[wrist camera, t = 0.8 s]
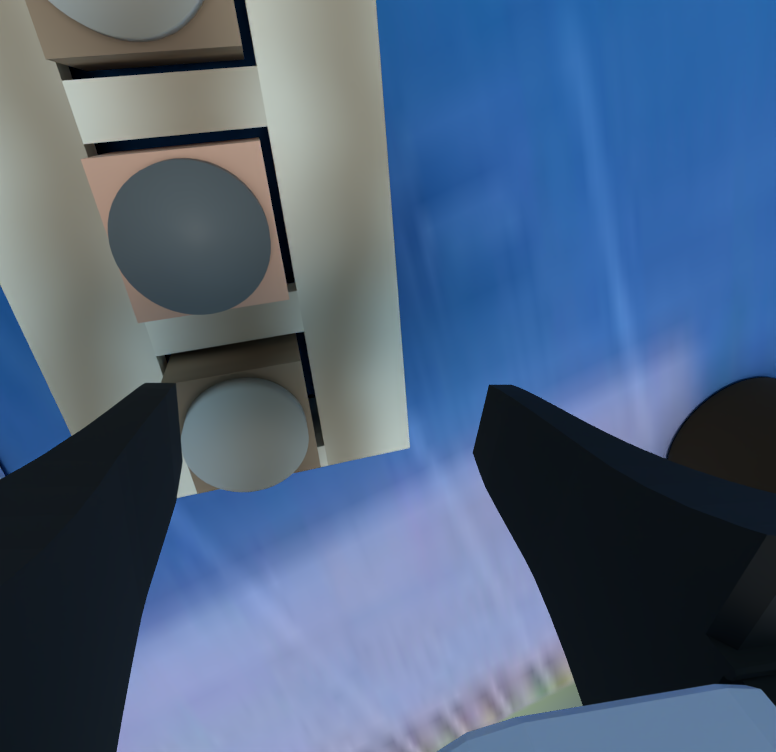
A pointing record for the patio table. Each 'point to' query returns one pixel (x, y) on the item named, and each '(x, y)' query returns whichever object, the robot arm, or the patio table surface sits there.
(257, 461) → the box with round disc
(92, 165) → the beige grey-dot cube
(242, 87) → the grey square block
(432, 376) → the patio table surface
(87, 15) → the cube with pale circle
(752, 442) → the olive oil
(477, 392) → the patio table surface
